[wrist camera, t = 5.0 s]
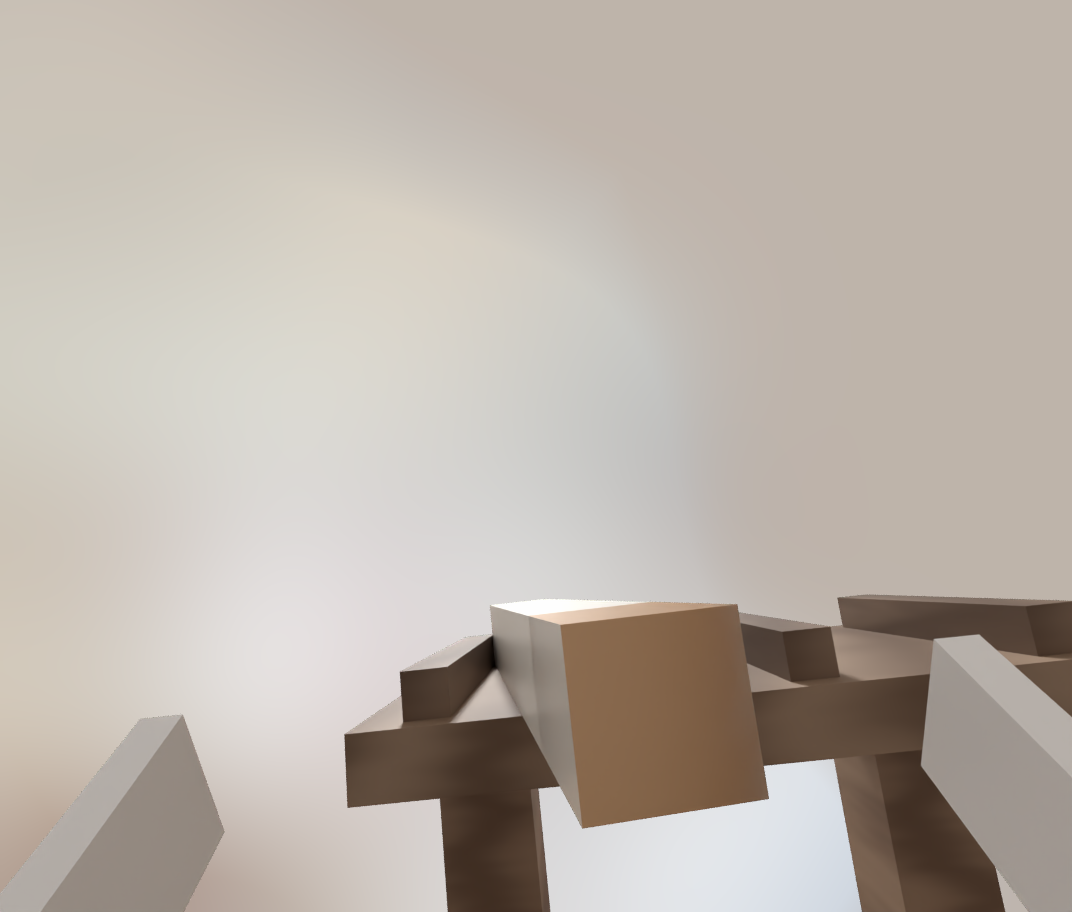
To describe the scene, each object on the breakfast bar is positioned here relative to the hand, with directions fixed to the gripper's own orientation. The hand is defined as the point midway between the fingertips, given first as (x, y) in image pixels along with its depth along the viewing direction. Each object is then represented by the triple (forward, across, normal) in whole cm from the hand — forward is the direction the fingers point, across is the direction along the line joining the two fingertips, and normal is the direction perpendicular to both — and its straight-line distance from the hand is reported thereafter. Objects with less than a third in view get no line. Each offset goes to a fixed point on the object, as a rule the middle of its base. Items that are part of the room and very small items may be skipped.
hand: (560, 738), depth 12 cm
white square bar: (+9, 0, -6) cm, 11 cm away
